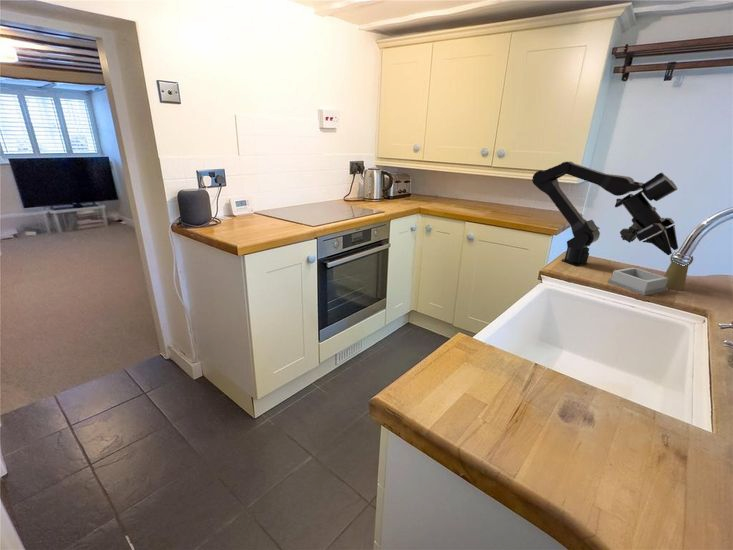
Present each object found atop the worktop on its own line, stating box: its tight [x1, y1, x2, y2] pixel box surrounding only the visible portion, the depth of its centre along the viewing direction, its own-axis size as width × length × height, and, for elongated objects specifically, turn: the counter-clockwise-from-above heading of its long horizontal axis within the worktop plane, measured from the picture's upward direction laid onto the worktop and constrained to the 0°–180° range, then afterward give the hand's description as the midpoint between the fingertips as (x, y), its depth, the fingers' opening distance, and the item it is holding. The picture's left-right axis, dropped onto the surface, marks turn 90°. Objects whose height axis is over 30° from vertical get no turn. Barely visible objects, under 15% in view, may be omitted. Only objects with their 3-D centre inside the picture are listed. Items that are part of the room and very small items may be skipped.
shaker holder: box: [607, 267, 669, 296], centre depth 110 cm, size 11×11×4 cm
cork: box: [663, 252, 694, 291], centre depth 109 cm, size 6×6×11 cm
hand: (673, 251), depth 109 cm, fingers open, 9 cm apart
